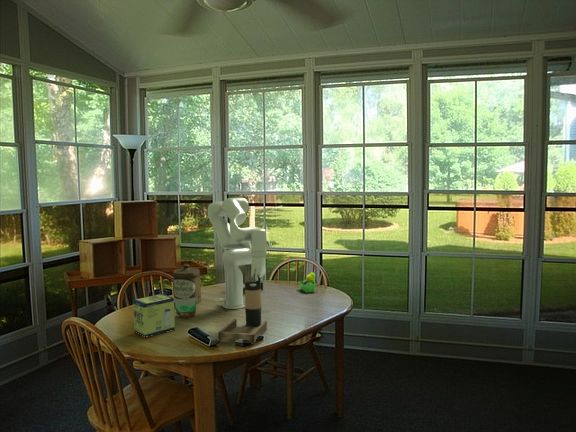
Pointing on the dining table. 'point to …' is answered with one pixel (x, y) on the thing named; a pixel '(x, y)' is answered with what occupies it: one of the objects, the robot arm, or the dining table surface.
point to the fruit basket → (308, 283)
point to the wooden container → (187, 283)
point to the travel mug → (253, 304)
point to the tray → (240, 332)
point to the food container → (185, 307)
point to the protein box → (153, 315)
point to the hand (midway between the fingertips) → (259, 290)
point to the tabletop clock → (247, 273)
